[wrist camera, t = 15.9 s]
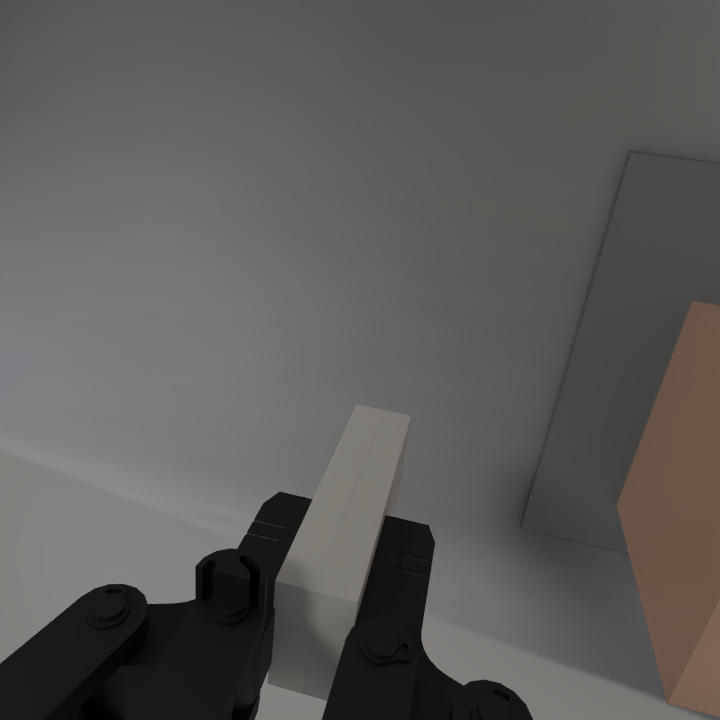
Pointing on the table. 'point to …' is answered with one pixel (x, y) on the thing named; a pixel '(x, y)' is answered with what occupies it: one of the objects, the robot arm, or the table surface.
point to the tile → (681, 517)
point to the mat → (626, 342)
